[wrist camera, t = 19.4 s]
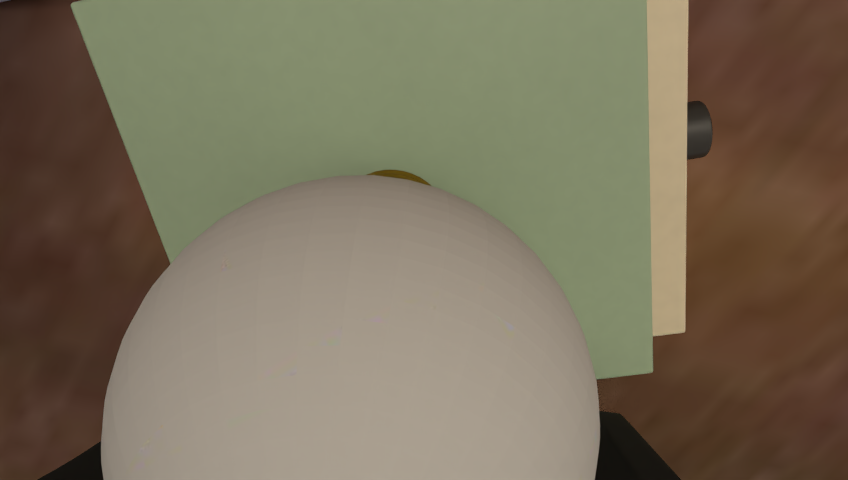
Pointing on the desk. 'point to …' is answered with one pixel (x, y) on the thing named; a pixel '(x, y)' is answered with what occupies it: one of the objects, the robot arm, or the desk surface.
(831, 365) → the desk surface
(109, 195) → the desk surface
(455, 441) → the light bulb
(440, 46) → the cabinet
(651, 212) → the drawer
